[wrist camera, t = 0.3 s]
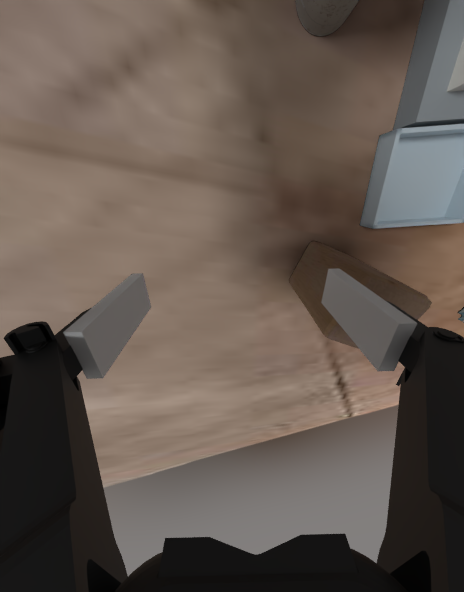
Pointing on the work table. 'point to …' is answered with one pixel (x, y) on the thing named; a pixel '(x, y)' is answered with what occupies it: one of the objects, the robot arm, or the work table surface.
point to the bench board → (433, 68)
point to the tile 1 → (458, 73)
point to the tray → (417, 178)
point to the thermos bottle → (323, 14)
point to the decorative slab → (462, 312)
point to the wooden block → (321, 258)
